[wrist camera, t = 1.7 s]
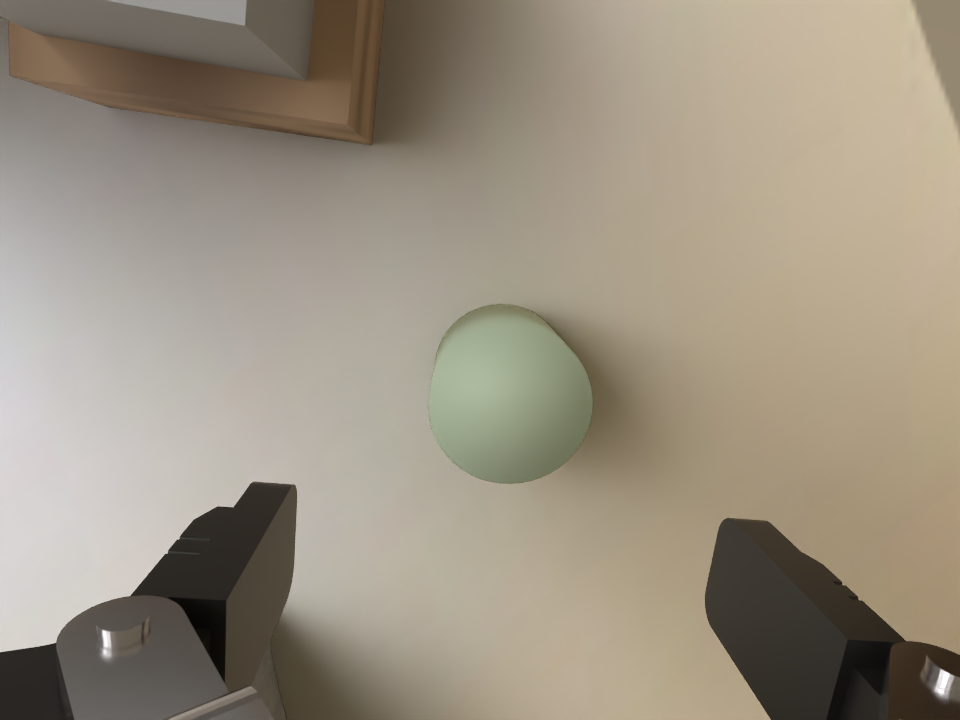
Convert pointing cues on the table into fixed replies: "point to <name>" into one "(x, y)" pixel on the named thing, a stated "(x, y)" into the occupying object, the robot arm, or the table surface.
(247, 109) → the base block
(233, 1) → the gray block
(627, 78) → the table surface
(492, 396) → the rounded mint cylinder
